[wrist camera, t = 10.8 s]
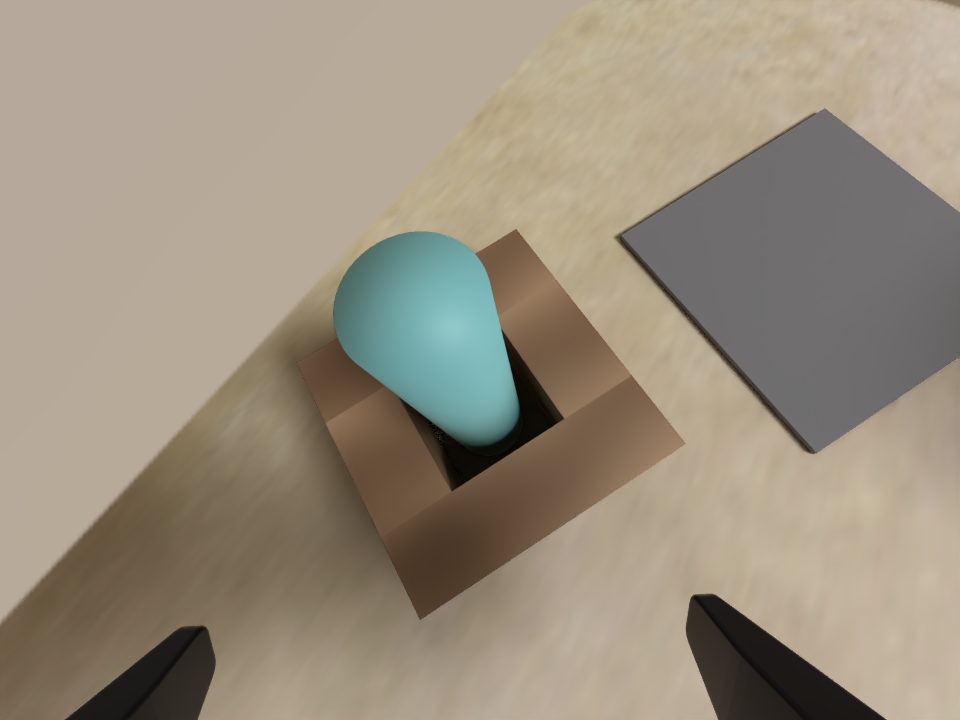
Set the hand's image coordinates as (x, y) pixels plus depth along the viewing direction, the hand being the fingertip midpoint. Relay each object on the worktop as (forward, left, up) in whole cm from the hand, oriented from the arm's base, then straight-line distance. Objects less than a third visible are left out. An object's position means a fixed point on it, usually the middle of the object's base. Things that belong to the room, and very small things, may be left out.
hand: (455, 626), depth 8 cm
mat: (+3, -19, -10) cm, 21 cm away
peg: (+5, -3, -10) cm, 11 cm away
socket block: (+5, -3, -10) cm, 11 cm away
